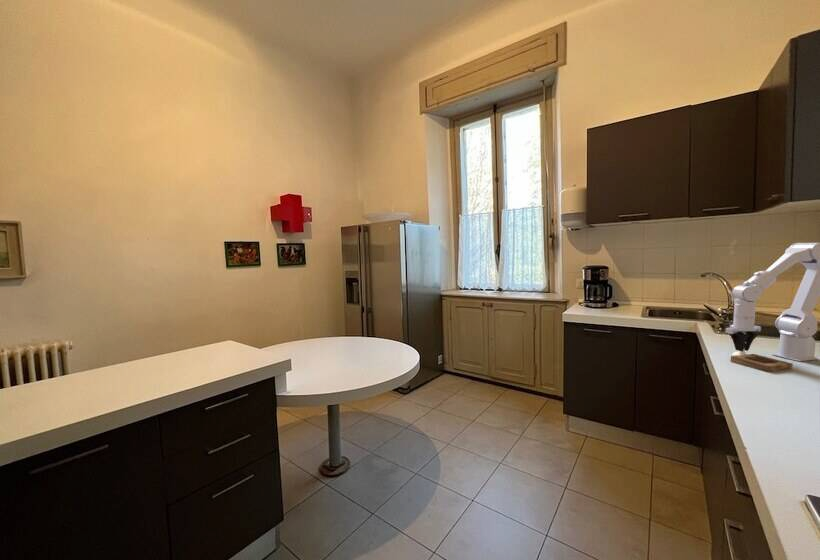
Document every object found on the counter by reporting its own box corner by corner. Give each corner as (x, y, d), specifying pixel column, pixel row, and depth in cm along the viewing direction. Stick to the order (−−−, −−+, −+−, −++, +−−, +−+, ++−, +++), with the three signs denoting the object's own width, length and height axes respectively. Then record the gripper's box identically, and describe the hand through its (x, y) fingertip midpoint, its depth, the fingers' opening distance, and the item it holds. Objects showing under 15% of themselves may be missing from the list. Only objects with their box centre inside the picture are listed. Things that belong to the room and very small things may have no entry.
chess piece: (754, 358, 124) (755, 333, 123) (739, 358, 125) (740, 332, 124) (743, 354, 129) (745, 329, 128) (729, 353, 130) (730, 329, 129)
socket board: (753, 358, 124) (753, 353, 124) (791, 369, 113) (792, 363, 113) (730, 361, 122) (730, 356, 122) (767, 372, 111) (768, 366, 111)
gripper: (746, 313, 131) (744, 345, 132) (717, 315, 128) (715, 348, 129) (768, 316, 124) (766, 350, 125) (738, 319, 121) (736, 354, 123)
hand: (741, 350), depth 127 cm, fingers closed on chess piece
